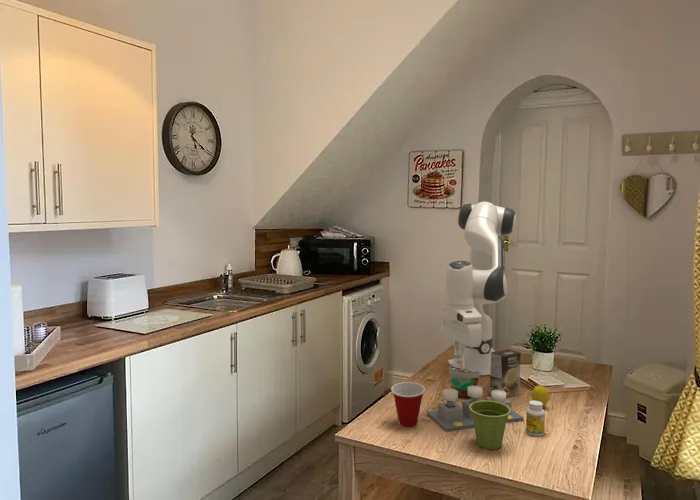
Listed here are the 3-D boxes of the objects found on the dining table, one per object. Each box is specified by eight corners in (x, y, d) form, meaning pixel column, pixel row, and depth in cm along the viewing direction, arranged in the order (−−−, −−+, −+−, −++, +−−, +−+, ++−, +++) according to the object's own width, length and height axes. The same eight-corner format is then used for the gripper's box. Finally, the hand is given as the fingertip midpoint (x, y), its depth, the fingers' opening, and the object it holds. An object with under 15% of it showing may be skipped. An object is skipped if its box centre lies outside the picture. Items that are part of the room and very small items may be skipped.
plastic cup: (386, 427, 175) (386, 390, 174) (397, 414, 185) (397, 380, 184) (418, 433, 171) (419, 395, 170) (428, 420, 181) (429, 384, 180)
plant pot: (460, 440, 166) (461, 404, 165) (492, 433, 171) (493, 398, 170) (485, 457, 155) (486, 418, 154) (518, 449, 160) (519, 411, 159)
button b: (464, 405, 184) (464, 386, 183) (477, 403, 186) (477, 385, 185) (471, 410, 180) (472, 391, 179) (484, 408, 181) (485, 389, 180)
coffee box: (502, 400, 198) (503, 356, 197) (489, 394, 204) (490, 352, 202) (519, 395, 203) (521, 352, 201) (506, 390, 208) (507, 348, 207)
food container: (441, 393, 205) (441, 367, 204) (450, 389, 209) (451, 363, 208) (470, 402, 196) (470, 375, 195) (479, 398, 200) (480, 371, 199)
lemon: (549, 411, 188) (550, 388, 187) (532, 409, 189) (533, 387, 189) (546, 404, 194) (547, 382, 193) (530, 403, 195) (531, 381, 194)
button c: (440, 408, 182) (440, 389, 181) (453, 406, 183) (453, 387, 182) (446, 413, 177) (447, 394, 176) (460, 412, 178) (460, 392, 178)
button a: (488, 409, 187) (488, 390, 186) (500, 407, 188) (501, 389, 188) (495, 414, 182) (496, 395, 182) (508, 412, 184) (509, 394, 183)
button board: (426, 414, 185) (426, 400, 185) (499, 404, 194) (500, 391, 193) (445, 431, 172) (446, 416, 172) (523, 420, 180) (523, 405, 180)
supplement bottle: (547, 433, 171) (548, 403, 170) (537, 438, 167) (538, 407, 166) (532, 427, 175) (533, 398, 174) (522, 432, 172) (523, 402, 171)
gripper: (435, 307, 186) (435, 347, 187) (467, 318, 166) (467, 363, 167) (452, 306, 188) (452, 346, 189) (485, 317, 168) (485, 361, 169)
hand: (459, 354), depth 178 cm, fingers closed
